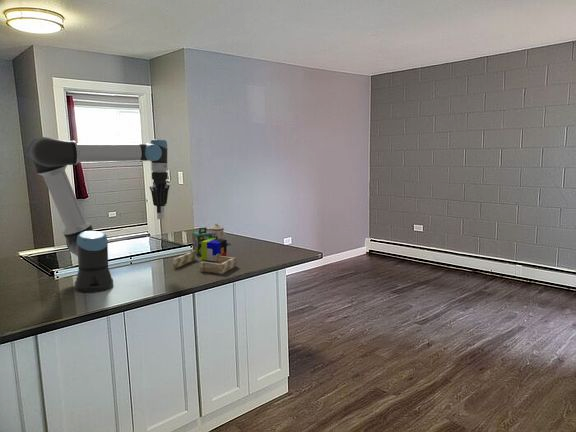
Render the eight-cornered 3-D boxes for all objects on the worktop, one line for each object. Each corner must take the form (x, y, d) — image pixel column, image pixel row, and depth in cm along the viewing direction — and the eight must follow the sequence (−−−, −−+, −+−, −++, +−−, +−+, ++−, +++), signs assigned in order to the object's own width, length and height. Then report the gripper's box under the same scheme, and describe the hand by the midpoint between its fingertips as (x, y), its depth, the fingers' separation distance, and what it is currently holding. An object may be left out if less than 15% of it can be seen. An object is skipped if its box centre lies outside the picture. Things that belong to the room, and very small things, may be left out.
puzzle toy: (217, 261, 230) (217, 243, 229) (201, 259, 233) (201, 241, 232) (226, 257, 240) (226, 239, 238) (210, 255, 243) (210, 238, 241)
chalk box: (206, 249, 255) (206, 225, 252) (213, 253, 247) (213, 228, 245) (191, 251, 250) (191, 226, 247) (197, 255, 242) (197, 229, 240)
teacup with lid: (206, 241, 274) (206, 224, 272) (215, 239, 282) (215, 222, 280) (221, 244, 268) (221, 226, 267) (230, 242, 276) (230, 224, 274)
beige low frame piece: (220, 274, 208) (220, 264, 207) (173, 267, 217) (172, 257, 216) (237, 265, 224) (237, 256, 224) (192, 259, 234) (192, 250, 233)
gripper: (157, 172, 203) (158, 221, 207) (174, 171, 215) (174, 217, 219) (144, 171, 205) (145, 220, 209) (161, 170, 218) (162, 216, 221)
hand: (160, 219), depth 214 cm, fingers closed
